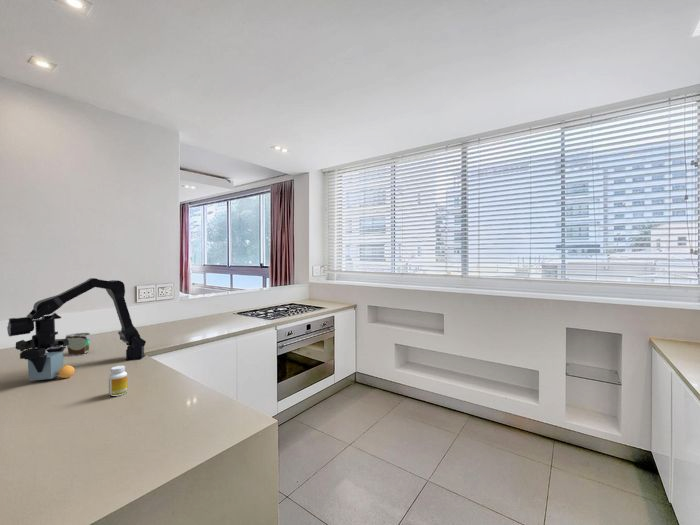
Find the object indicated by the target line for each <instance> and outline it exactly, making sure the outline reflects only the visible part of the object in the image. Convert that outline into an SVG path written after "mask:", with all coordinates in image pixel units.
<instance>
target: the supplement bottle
mask: <svg viewBox="0 0 700 525" xmlns="http://www.w3.org/2000/svg"><path fill="white" fill-rule="evenodd" d="M127 390H128V372H127V371H126V366H125V365H116V366H113V367H111V368H110V374H109V375H108V396H109V395H119V394H122V393H125V392H127V393H128V391H127Z"/></svg>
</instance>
